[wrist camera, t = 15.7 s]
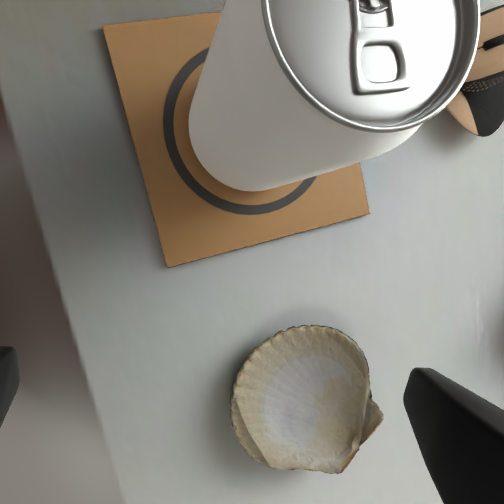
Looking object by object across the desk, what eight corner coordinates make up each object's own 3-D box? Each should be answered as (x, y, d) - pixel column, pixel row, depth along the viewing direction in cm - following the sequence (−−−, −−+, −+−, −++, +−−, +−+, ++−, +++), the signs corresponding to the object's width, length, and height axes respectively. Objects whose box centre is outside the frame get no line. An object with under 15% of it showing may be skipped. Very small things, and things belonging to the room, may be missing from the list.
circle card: (167, 267, 20) (167, 268, 20) (102, 28, 19) (101, 23, 18) (367, 213, 23) (371, 213, 22) (325, 1, 21) (328, -3, 21)
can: (296, 63, 21) (483, -142, 9) (313, 183, 21) (506, 135, 10) (176, 71, 19) (216, -163, 8) (199, 201, 20) (267, 168, 8)
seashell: (288, 299, 24) (195, 401, 21) (311, 293, 21) (207, 411, 18) (377, 393, 24) (298, 507, 21) (410, 400, 21) (325, 532, 18)
